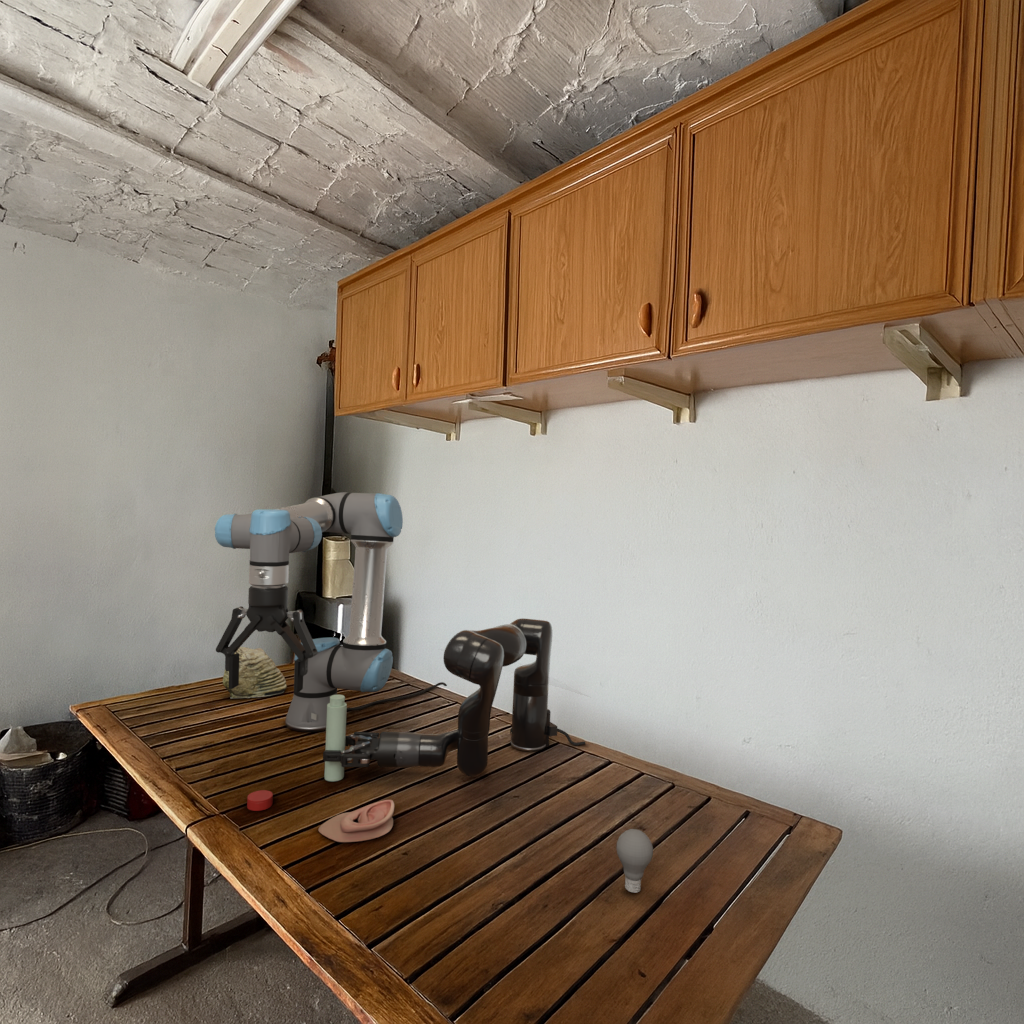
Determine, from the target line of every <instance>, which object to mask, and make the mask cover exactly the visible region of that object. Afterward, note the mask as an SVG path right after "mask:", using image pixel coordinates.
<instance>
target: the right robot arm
mask: <svg viewBox="0 0 1024 1024" xmlns="http://www.w3.org/2000/svg"><path fill="white" fill-rule="evenodd" d="M552 645H553V627H552V624H551V622H550V621H548V620H544V619H543V620H542V619H534V618H523V617H522V618H517V619H515V620H513V621H511V622H510V623H506V624H501V625H497V626H493V627H490V628H485V629H478V630H472V629H463V630H461V631H458V632H457V633H456V634H455V635H453V636H452V637H451V639H450V640H449V641H448V643H446V646H445V649H444V651H443V665H444V667H445V669H446V670H447V671H448V672H449V673H450V674H452V675H454V676H456V677H458V678H461V679H463V680H464V681H467V682H470V683H472V684H473V685H478V686H479V688H478V689H477V690H475V691H474V692H472V693H471V694H470V695H468V696H467V697H465V699H464V700H463V701H462V702H461V705H460V706H459V709H458V713H457V729H455V730H451V731H446V732H443V733H418V732H417V733H416V732H412V731H411V732H406V731H381V733H380V732H373V731H371V732H370V731H354V732H353V734H349V735H346V739H345V747H349V748H348V749H347V748H346V749H345V750H343V751H341V750H323V752H322V761H323V762H325V761H334V762H340V763H341V766H342V767H344V768H369V767H370V765H371V764H370V763H371V761H376V765H377V766H378V767H379V768H403V769H405V768H406V769H408V768H409V769H410V768H419V767H421V768H423V767H424V768H440V767H443V766H444V765H445V763H446V759H447V757H448V754H449V753H451V752H453V751H456V766H457V767H456V768H457V769H458V771H459V772H460V773H461V774H463V775H464V776H466V777H478V776H480V775H481V774H482V773H484V772H485V770H486V769H487V767H488V764H489V760H488V759H489V733H490V727H491V714H492V709H493V708H492V707H493V703H494V701H495V698H496V694H497V690H498V686H499V682H500V678H501V674H502V672H503V671H502V670H503V667H507V666H511V665H513V664H515V663H517V662H518V661H519V660H521V659H522V658H523V656H524V655H529V656H536V657H535V661H533V662H531V663H528V664H522V665H520V666H519V665H518V666H517V667H516V668H515V669H514V671H513V689H512V711H511V727H510V730H509V734H510V746H511V747H512V748H513V749H515V750H518V751H522V752H539V751H542V750H545V748H548V747H550V738H551V737H556V736H558V733H560V734H562V735H564V736H565V737H566V739H567V741H568V743H569V744H570V745H572V746H575V747H576V746H583V745H584V746H585V745H586V741H579V742H575V741H573V740H572V738H571V736H570V735H569V733H567V732H566V731H565V730H563V729H560V728H558V725H556V724H555V723H553V722H552V721H551V710H550V709H549V707H548V706H549V705H548V704H549V685H550V684H549V683H550V669H551V655H552Z"/></svg>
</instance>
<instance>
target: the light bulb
mask: <svg viewBox="0 0 1024 1024" xmlns="http://www.w3.org/2000/svg"><path fill="white" fill-rule="evenodd" d="M615 849H616V854H617V857H618V859H619V861H620V863H621V865H622V867H623V873H624V874H623V875H624V876H625V878H624V888H625V890H627V891H628V892H630V893H634V894H635V893H639V892H640V891H641V889H642V887H641V886H642V879H643V877H644V875H645V871H646V868H647V867H648V866H649V864H650V863H651V861H652V859H653V855H654V847H653V843H652V841H651V838H649V836H648V835H647V834H646V833H645V832H643V831H642V830H641V829H636V828H629V829H627V830H625V831H623V832H622V833H621V834H620V835H619V837H618V839H617V841H616V847H615Z"/></svg>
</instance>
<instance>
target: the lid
mask: <svg viewBox="0 0 1024 1024" xmlns="http://www.w3.org/2000/svg"><path fill="white" fill-rule="evenodd" d="M273 799H274V793H273V792H272V791H270V790H266V789H261V790H255V791H253V792H251V793H249V794H248V795H247V799H246V800H247V801H246V802H247V803H246V809H248V810H249V811H252V812H260V811H264V810H265V811H266V810H268V809H269V808H271V807H272V806H273V801H274V800H273Z"/></svg>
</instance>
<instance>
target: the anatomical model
mask: <svg viewBox="0 0 1024 1024" xmlns="http://www.w3.org/2000/svg"><path fill="white" fill-rule="evenodd" d="M394 812H395V801H394V800H392V799H384V800H380V801H377V802H373V803H370V804H368V805H365V806H363V807H360V808H357V809H355V810H353V811H348V812H343V813H340V814H337V815H334V816H333V817H331V818H330V819H328V820H326V821H325V822H323V823H322V824H321V825H320V826H319V827H318V829H317V830H318V832H319V834H321V835H322V836H324V837H325V838H328V839H330V840H332V841H334V842H337V843H355V842H363V841H370V840H374V839H376V838H380V837H382V836H384V835H386V834H388V833H389V832H390V831H391V830H392V828H393V826H394V818H393V815H394Z"/></svg>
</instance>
